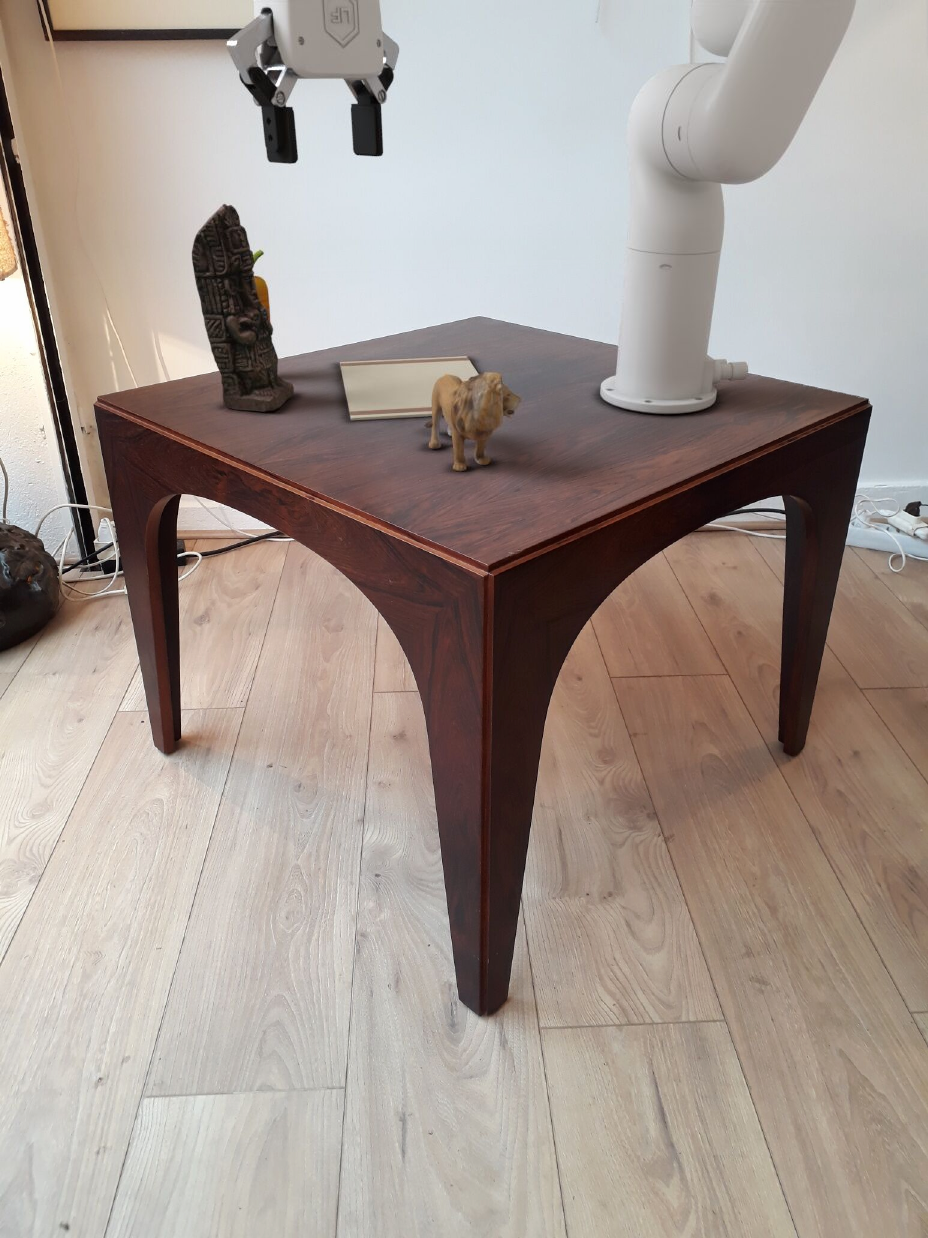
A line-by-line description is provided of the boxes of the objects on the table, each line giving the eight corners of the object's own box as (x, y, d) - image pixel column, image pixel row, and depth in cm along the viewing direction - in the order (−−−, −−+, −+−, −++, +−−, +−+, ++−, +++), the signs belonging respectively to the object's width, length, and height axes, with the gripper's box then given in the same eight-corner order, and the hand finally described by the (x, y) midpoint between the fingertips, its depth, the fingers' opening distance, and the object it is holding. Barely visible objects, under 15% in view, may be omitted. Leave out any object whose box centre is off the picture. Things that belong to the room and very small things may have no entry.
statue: (273, 414, 96) (250, 207, 86) (211, 410, 97) (180, 206, 87) (296, 395, 102) (277, 199, 92) (237, 391, 103) (211, 198, 93)
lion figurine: (525, 474, 81) (529, 374, 77) (473, 485, 79) (474, 383, 75) (447, 427, 92) (446, 337, 88) (400, 435, 90) (396, 344, 86)
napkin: (466, 358, 115) (466, 355, 115) (501, 412, 97) (502, 409, 96) (340, 364, 113) (339, 361, 113) (351, 420, 94) (350, 417, 94)
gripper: (247, -117, 61) (275, 168, 70) (423, -87, 72) (428, 154, 81) (182, -104, 65) (216, 163, 74) (357, -78, 76) (369, 151, 85)
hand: (327, 158), depth 77 cm, fingers open, 9 cm apart
